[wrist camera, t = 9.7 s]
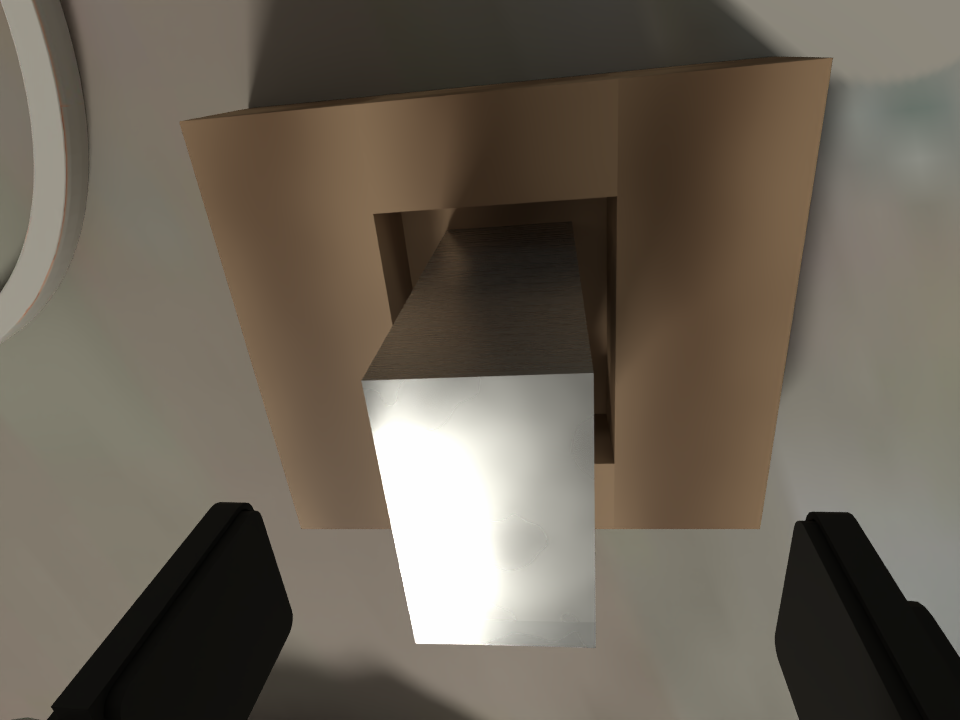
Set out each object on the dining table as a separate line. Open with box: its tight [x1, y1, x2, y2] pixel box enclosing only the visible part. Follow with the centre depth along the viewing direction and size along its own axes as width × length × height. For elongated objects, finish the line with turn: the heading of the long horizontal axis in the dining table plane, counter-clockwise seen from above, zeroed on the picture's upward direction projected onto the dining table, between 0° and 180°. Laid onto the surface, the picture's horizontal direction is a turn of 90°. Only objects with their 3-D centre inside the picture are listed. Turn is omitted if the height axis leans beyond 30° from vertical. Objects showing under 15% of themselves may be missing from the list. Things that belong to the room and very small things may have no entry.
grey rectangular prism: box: [361, 221, 596, 648], centre depth 16 cm, size 4×7×10 cm, turn 5°
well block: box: [180, 57, 833, 529], centre depth 19 cm, size 16×14×4 cm
